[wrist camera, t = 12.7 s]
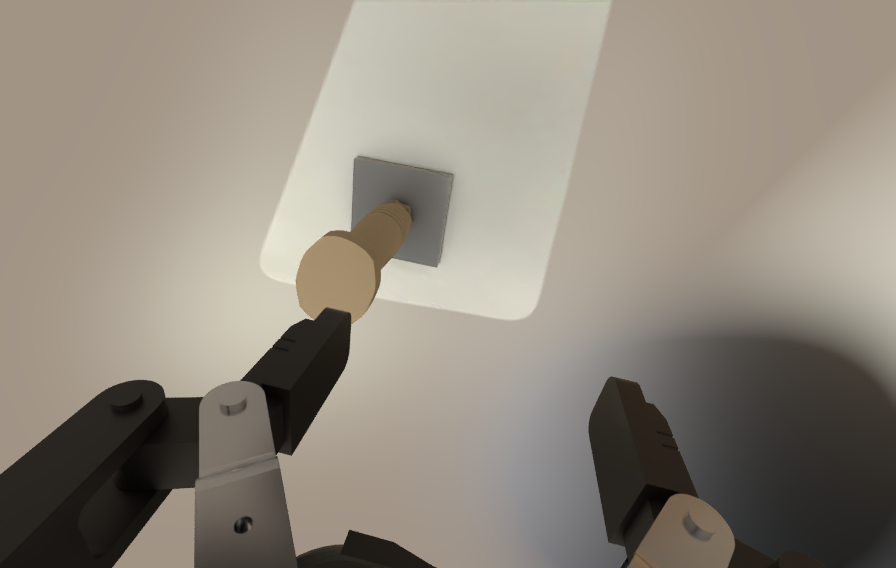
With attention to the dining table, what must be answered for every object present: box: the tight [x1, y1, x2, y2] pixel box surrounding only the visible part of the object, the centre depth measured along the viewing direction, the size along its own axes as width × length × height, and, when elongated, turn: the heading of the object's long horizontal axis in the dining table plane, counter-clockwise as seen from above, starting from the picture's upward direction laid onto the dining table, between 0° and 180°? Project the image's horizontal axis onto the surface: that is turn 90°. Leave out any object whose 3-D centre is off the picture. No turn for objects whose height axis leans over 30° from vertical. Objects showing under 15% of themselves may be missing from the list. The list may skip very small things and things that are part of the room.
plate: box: [351, 157, 453, 267], centre depth 39 cm, size 9×9×1 cm
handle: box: [296, 200, 413, 324], centre depth 31 cm, size 5×6×15 cm
